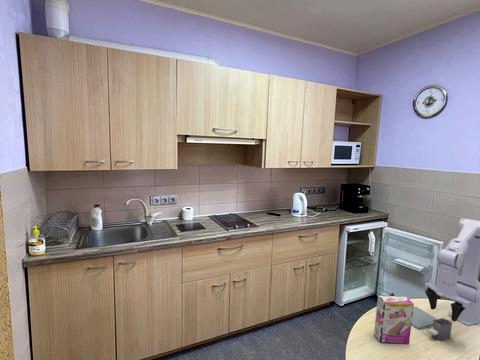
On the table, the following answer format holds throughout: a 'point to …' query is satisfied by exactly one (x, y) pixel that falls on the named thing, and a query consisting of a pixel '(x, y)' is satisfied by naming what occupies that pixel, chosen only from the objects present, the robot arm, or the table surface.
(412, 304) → the candy bar box
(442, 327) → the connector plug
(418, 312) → the slate mat
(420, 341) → the table surface
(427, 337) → the table surface
